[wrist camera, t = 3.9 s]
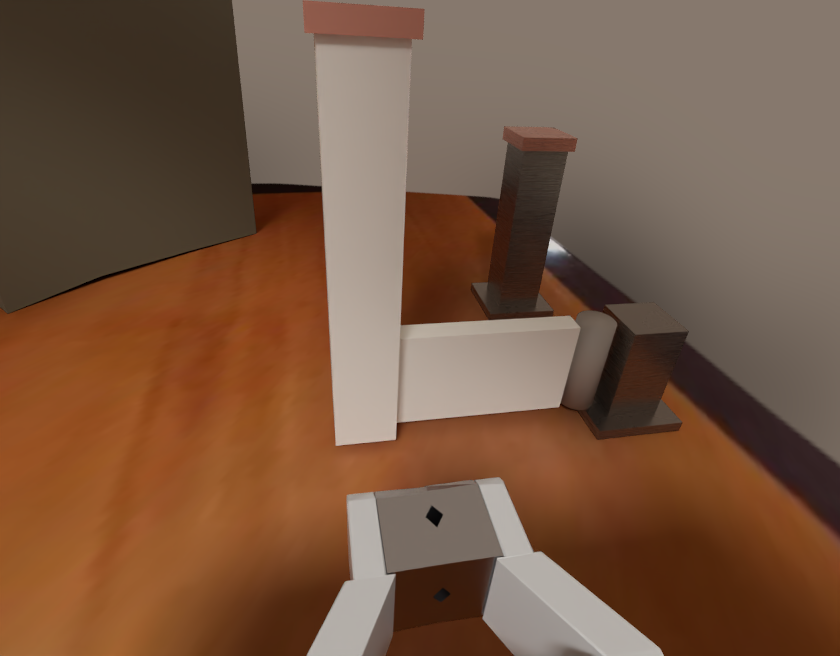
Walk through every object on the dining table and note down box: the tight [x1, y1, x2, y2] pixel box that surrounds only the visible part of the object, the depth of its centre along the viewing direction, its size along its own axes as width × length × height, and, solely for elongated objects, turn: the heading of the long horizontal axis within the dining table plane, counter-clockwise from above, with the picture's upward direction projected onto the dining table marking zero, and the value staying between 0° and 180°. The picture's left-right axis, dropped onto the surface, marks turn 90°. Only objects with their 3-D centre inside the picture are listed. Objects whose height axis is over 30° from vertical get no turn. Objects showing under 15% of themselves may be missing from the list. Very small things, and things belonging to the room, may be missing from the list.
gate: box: [303, 1, 617, 446], centre depth 22 cm, size 15×4×18 cm, turn 101°
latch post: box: [471, 126, 577, 320], centre depth 35 cm, size 5×5×13 cm
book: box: [0, 0, 256, 313], centre depth 36 cm, size 22×9×28 cm, turn 144°
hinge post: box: [577, 302, 689, 439], centre depth 27 cm, size 5×5×6 cm
